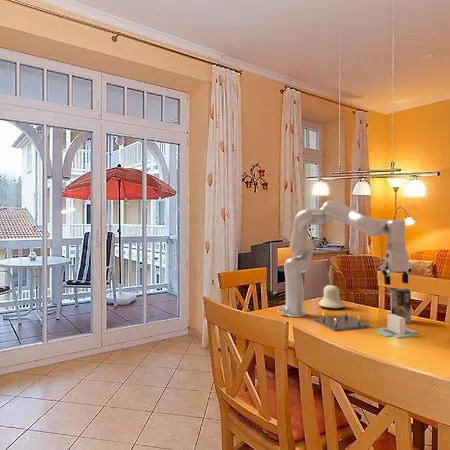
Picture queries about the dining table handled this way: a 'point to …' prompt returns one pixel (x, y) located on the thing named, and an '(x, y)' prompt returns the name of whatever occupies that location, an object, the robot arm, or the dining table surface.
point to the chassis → (341, 322)
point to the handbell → (331, 294)
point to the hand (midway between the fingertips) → (396, 283)
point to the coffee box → (401, 303)
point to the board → (389, 333)
